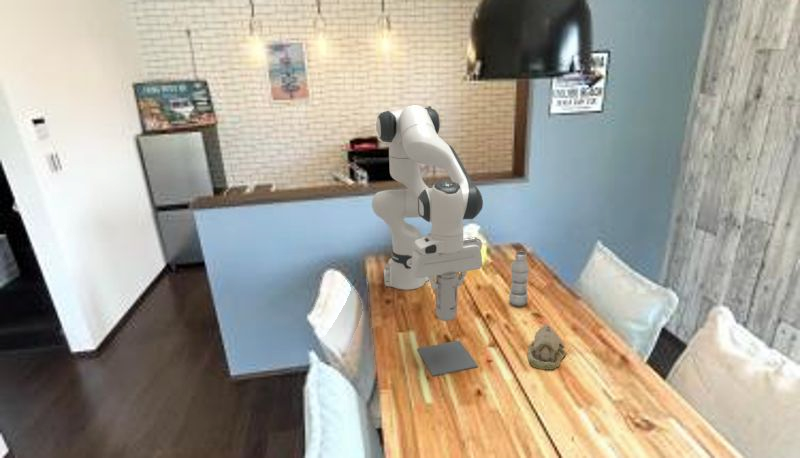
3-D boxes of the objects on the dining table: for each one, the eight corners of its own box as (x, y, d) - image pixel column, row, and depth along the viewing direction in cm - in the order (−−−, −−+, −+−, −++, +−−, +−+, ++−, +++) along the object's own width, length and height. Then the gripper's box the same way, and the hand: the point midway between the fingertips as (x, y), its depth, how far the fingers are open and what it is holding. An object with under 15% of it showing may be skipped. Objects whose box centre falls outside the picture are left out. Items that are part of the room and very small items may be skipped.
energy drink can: (454, 323, 131) (456, 276, 125) (434, 320, 133) (434, 274, 127) (457, 312, 137) (459, 267, 131) (437, 309, 138) (438, 264, 132)
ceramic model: (529, 341, 146) (531, 313, 143) (566, 347, 142) (569, 318, 139) (523, 366, 134) (525, 336, 131) (564, 374, 130) (567, 343, 127)
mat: (417, 349, 143) (417, 348, 143) (459, 341, 147) (459, 340, 147) (432, 376, 130) (432, 375, 130) (478, 367, 134) (478, 365, 134)
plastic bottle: (531, 306, 167) (534, 254, 161) (515, 309, 165) (518, 258, 158) (520, 298, 173) (523, 248, 166) (505, 302, 170) (507, 251, 164)
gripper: (476, 233, 132) (475, 276, 136) (408, 241, 127) (409, 287, 131) (486, 240, 126) (485, 285, 131) (415, 249, 121) (416, 297, 125)
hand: (446, 286), depth 131 cm, fingers closed on energy drink can, 6 cm apart
